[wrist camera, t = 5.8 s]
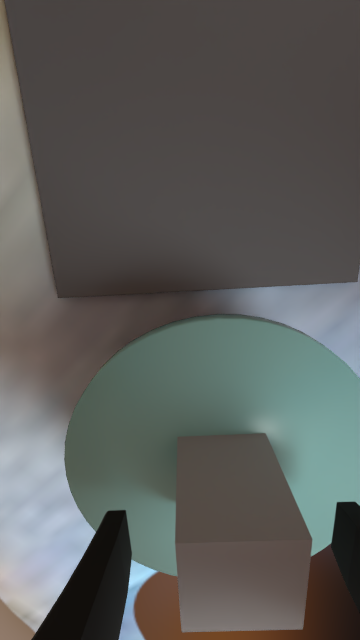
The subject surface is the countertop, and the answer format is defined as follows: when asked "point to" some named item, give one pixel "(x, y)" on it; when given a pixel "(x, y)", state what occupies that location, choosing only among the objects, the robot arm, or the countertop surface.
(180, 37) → the mat
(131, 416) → the lid
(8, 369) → the countertop surface
